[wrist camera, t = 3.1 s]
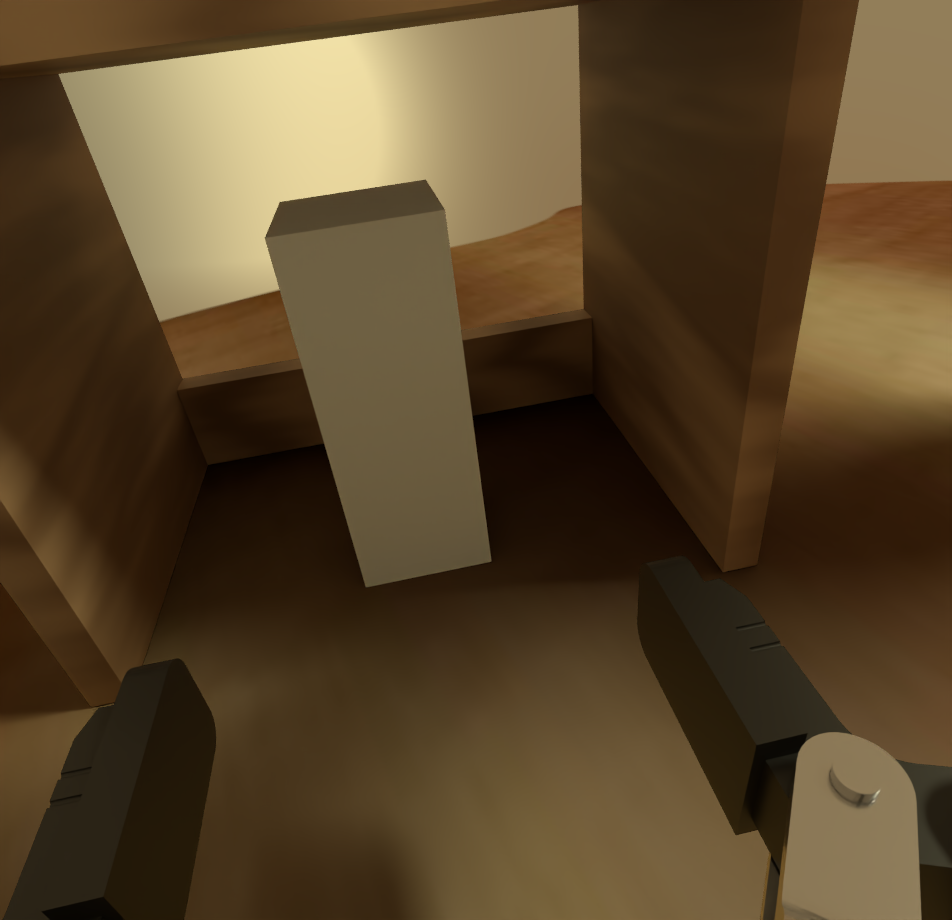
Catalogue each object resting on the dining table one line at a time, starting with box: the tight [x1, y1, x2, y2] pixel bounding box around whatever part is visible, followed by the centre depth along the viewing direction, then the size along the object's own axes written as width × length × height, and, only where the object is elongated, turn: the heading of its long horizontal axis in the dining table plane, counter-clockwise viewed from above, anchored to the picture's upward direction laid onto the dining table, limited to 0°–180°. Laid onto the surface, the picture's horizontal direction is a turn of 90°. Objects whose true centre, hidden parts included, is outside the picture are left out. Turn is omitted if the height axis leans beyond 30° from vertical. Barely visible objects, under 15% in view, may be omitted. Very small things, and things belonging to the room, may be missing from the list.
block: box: [265, 180, 492, 587], centre depth 21 cm, size 4×4×12 cm
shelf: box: [0, 0, 859, 707], centre depth 21 cm, size 21×14×18 cm
